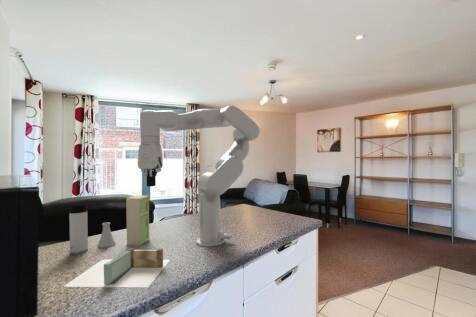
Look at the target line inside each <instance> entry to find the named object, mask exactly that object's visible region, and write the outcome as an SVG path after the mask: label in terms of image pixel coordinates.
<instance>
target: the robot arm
mask: <svg viewBox="0 0 476 317" xmlns="http://www.w3.org/2000/svg"><path fill="white" fill-rule="evenodd" d="M139 121H140V122H139V125H140V126H139V127H140V128H139V129H140V130H139V131H140V144H139V146H138V152H137V167H138V169H140V171H141V172H142V173H144V174H145V175H144V176H145V177H146V187H156V177H157V175H158V173H160V172H161V171H162V168H163V164H164V163H163V149H162V145H161V130H162V131H164V132H175V131H176V132H177V131H185V130H186V131H189V130H200V129H213V128H225V127H226V128H227V127H230V126H232V127H233V128H234V129H233V131H232V138H233V143H232V145H231V147H230V148H229V149H228V150H227V151H226V152H225V153H224V154H223V155H222V156H221V157H220V158H219V159H218V160H217V161H216V163H215V171H214V172H210V171H209V172H208V171H207V172H204V173H203V174H201V175H200V176H199V177H198V180H197V193H198V201H199V202H198V205H199V207H198V208H199V209H198V210H199V212H198V215H199V219H198V220H199V237H198V238H197V239H196V244H197V246H200V247H206V248H210V247H213V248H214V247H218V246H221V245H223V244H224V243H225V240H231V239H232V238H231V236H232V235H231V234H229V233H223V230H222V227H221V225H222V222H221V221H222V220H221V218H222V217H221V197H220V196H221V195H223V194H224V193H226V192H227V191H228V190H229V189H230V188H231V186H232V185H234V183H235V182H236V181H237V180H238V179H239V177H240V176H241V175H242V173H243V172H244V160H245V159H246V158H247V156H248V154H249V152H250V141H255V140H256V139H257V138H258V137H259V135H260V127H259V125H258V124H257V123H256V122H255V121H254V120H253V119H252V118H251V117H250V116H249V115H247V114H246V113H245V112H244V111H243V110H242V109H241V108H239V107H237V106H235V105H228V106H226V107H223V108H200V109H196V110H194V111H191V112H187V113H177V112H176V111H174V110H157V111H156V110H152V109H151V110H149V109H147V110H142V111H141V112H140V114H139Z"/></svg>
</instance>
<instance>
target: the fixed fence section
mask: <svg viewBox="0 0 476 317" xmlns="http://www.w3.org/2000/svg"><path fill="white" fill-rule="evenodd" d="M127 251H131V267H133V266H134V267H161V268H162V266H163V260H164V249H163V248H159V247H158V248H157V249H134V248H132V247H131V248H128V249H127Z"/></svg>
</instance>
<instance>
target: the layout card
mask: <svg viewBox="0 0 476 317" xmlns="http://www.w3.org/2000/svg"><path fill="white" fill-rule="evenodd" d="M113 259H114V258H113ZM113 259H105V258H104V259H102V260H99V262H97V263H95V264H93V265H92V266H91V267H90V268H88V269H86V270H85V271H83V272H82V273H81V274H79V275H78V276H76V277H75V278H73V279H72V280H70V281H69V282H68V283H66V284H64V285H63V287H64V288H67V287H68V288H149V287H150V286H151V285H152V283H153V282H154V281H155V279H156V278H157V277H158V276H159V275H160V274H161V272H162V271H163V270H164V268H165V267H166V265H167V264H168V263H169V262H170V261H171V260H170V259H163V266H162V268H161V267H134V266H133V267H131V268H129V269H128V270H127V271H125V272H124V273H123V274H121V275H120V276H119V277H117V278H116V279H115V280H113V281H112V283H110V284H104V264H105V263H107V262H110V261H111V260H113Z"/></svg>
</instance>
